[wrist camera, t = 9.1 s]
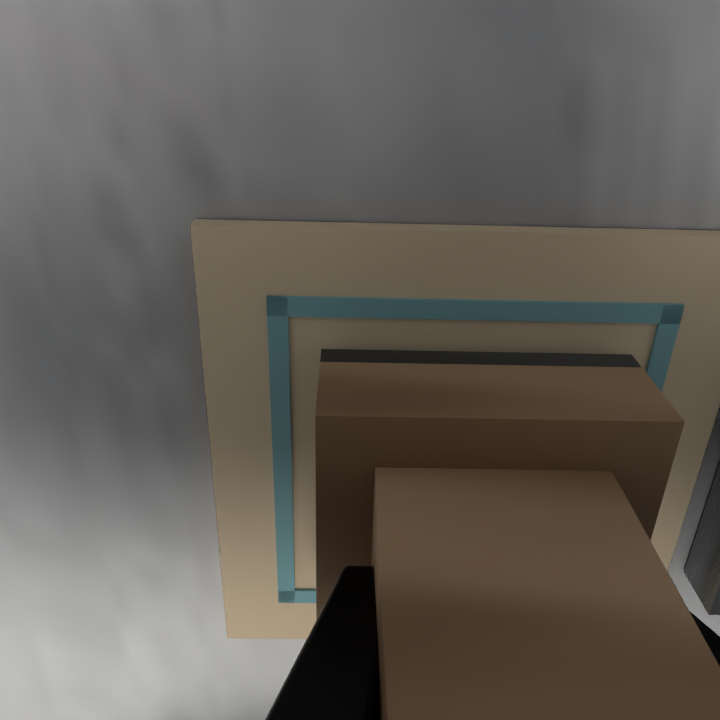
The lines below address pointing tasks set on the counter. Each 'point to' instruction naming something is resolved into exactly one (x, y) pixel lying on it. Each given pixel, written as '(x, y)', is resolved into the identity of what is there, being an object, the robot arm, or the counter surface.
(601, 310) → the card
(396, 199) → the counter surface
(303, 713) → the robot arm
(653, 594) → the stamp
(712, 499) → the ink pad
